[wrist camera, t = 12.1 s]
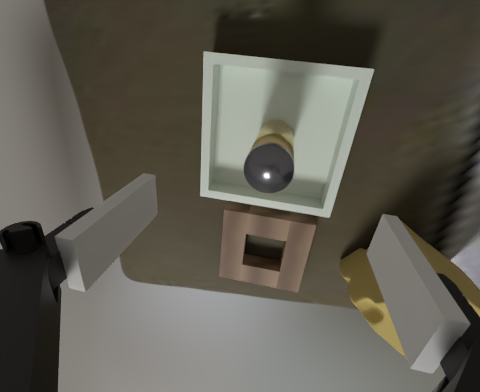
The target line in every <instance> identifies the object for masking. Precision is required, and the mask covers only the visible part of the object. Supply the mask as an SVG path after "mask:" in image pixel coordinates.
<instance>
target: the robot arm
mask: <svg viewBox="0 0 480 392" xmlns="http://www.w3.org/2000/svg"><path fill="white" fill-rule="evenodd" d="M157 214H158V212H157V196H156V180H155V175H150V174H144V173H143V174H142V175H141V176H139V177H138V178H136V179H135V180H133V181H132V182H131V183H129V184H128V185H126V186H125V187H124V188H122V189H121V190H119V191H118V192H117V193H115V194H114V195H112V196H111V197H109V198H108V199H107V200H105V201H104V202H102V203H101V204H100V205H98V206H97V207H95V208H89V209H87V210H84V211H81V212H80V213H78V214H77V215H75V216H74V217H73V218H72V219H69V220H68V221H66V223H63V224H62V225H61V226H59V227H58V228H56V229H55V230H53V231H52V232H51V233H49V234H47V235H46V236H44V233H43V230H42V227H41V224H40V223H38V222H34V221H26V222H19V223H15V224H12V225H9V226H7V227H5V228H4V229H2V230H1V231H0V243H1V245H2V247H3V249H1V250H0V392H58V368H59V340H60V312H61V288H60V284H61V283H62V282H63V281H64V280H65V279H66V278H67V281H68V285H69V288H71V289H75V290H79V291H84V292H86V291H87V290H88V289H89V288H90V287H91V285H92V284H93V283H94V282H95V281H96V280H97V279H98V278H99V277H100V276H101V275H102V274H103V272H104V271H105V270H106V269H107V268H108V267H109V266H110V265H111V264H112V263H113V262H114V261H115V260H116V259H117V258H118V256H119V255H120V254H121V253H122V252H123V251H124V250H125V249H126V248H127V247H128V246H129V245H130V244H131V242H132V241H133V240H134V239H135V238H136V237H137V236H138V235H139V234H140V233H141V232H142V231H143V230H144V228H145V227H146V226H147V225H148V224H149V223H150V222H151V221H152V220H153V219H154V218H155V217H156V215H157ZM366 254H367V257H368V259H369V262H370V264H371V267H372V270H373V272H374V275H375V278H376V280H377V283H378V286H379V288H380V291H381V293H382V296H383V299H384V301H385V304H386V307H387V309H388V312H389V314H390V317H391V320H392V322H393V325H394V328H395V330H396V333H397V335H398V338H399V341H400V343H401V346H402V349H403V351H404V354H405V356H406V358H407V362H408V364H409V367H410V369H414V370H418V371H423V372H427V373H431V374H433V373H434V371H435V370H436V369H437V367H438V366H439V365H440V364H441V366H442V368H443V370H444V372H445V374H446V376H445V377H444V378H443V380H442V381H441V382H440V383H439V384H438V386H437V387H436V388H435V389H434V391H433V392H480V317H479V315H478V314H477V313H476V311H475V310H474V309H473V307H472V306H471V305H470V304H469V302H468V300H467V299H466V298H465V296H463V294H462V292H461V291H460V289H459V288H458V287H457V285H456V284H455V283H454V282H453V281H451V280H450V279H449V278H448V277H447V276H445V275H444V274H441V273H436V272H435V271H434V269H433V268H432V266H431V265H430V263H429V262H428V260H427V259H426V258H425V256H424V255H423V253H422V252H421V250H420V249H419V247H418V246H417V244H416V243H415V241H414V240H413V238H412V237H411V236H410V234H409V233H408V231H407V230H406V228H405V227H404V225H403V224H402V222H401V221H400V219H399V218H398V216H392V215H386V214H382V216H381V219H380V221H379V224H378V226H377V229H376V231H375V234H374V236H373V238H372V241H371V243H370V246H369V248H368V251H367V253H366Z"/></svg>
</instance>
